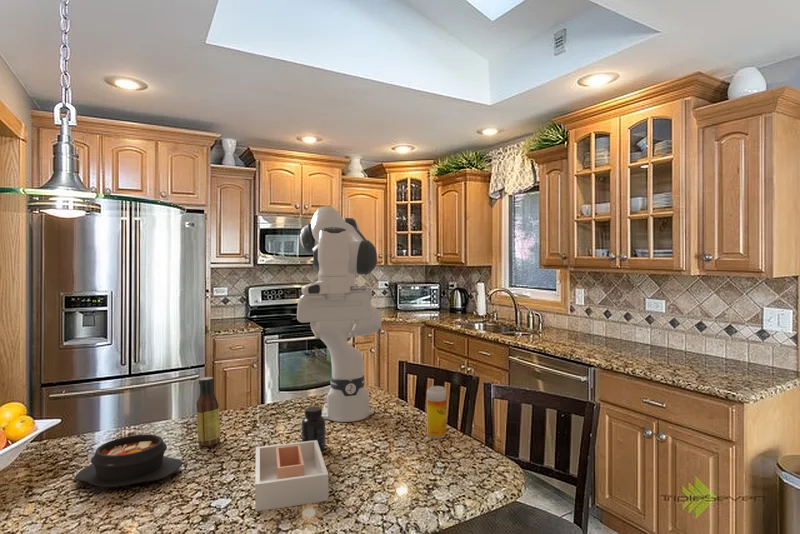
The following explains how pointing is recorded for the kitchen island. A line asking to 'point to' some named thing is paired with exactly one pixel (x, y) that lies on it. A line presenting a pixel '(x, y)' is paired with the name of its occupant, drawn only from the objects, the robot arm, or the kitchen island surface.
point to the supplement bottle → (314, 426)
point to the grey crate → (290, 479)
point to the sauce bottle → (207, 414)
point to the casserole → (129, 462)
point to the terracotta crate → (289, 462)
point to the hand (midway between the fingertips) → (335, 337)
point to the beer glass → (436, 412)
